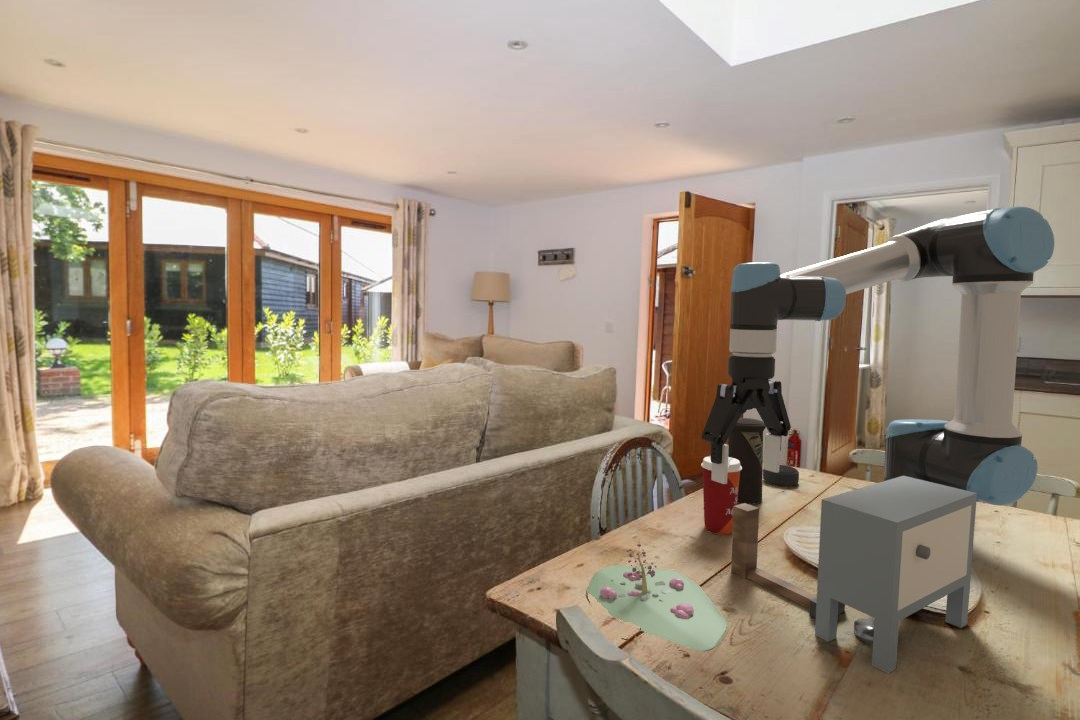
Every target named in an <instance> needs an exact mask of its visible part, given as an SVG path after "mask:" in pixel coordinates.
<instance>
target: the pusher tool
mask: <svg viewBox="0 0 1080 720" xmlns="http://www.w3.org/2000/svg"><path fill="white" fill-rule="evenodd" d="M759 516H760V508H759V507H756V506H755V505H753V504H746V503H743V504H742V503H738V504H737V505H736V506H733V533H731V534H732V539H731V563H730V565H731V567H730V569H731V570H730V572H731V573H733V574H735V575H737V576H739V577H741V578H744V579H749V580H751V581H753V582H755V583H757V584H759V585H761V586H764V587H765V588H766V589H769V590H771V591H773V592H775V593H777V594H779V595H781V596H783V597H785V598H788V599H789V600H792V601H794V602H796V603H798V604H800V605H801V606H803V607H805V608H807V609H809V611H808V612H809V613H808V614H809V615H808V616H809V617H811V618H813V619H815V620H816V603H817V594H814V593H813V592H810V591H808V590H805V589H804V588H801V587H799V586H797V585H795V584H793V583H791V582H788V581H787V580H785V579H783V578H780V577H778V576H776V575H774V574H772V573H769V572H767V571H765V570H763V569H761V568H758V546H759V545H758V544H759V543H758V542H759V523H760V522H759V521H760V517H759ZM845 611H846V605H845V604H843V603H841V602H839V601H838V615H839V614H842V613H843V612H845Z"/></svg>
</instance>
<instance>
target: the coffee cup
mask: <svg viewBox="0 0 1080 720" xmlns="http://www.w3.org/2000/svg"><path fill="white" fill-rule="evenodd" d="M702 459H703V460H702V463H701V464H700V465H701V467H702V491H703V492H702V493H703V519H704V529H705V530H706V531H707V532H709V533H712V534H714V535H731V534H733V506H736V505H738V503H737V499H738V489H739V479H740V471H741V470H742V467H741V466H740V461H739V460H737V459H735V458H731V457H728V474H727V484H722V483H719V482H716V481H713V480H711V476H712V462H711V455H709V456H705V457H704V458H702Z"/></svg>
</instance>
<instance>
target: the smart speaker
mask: <svg viewBox="0 0 1080 720" xmlns="http://www.w3.org/2000/svg"><path fill="white" fill-rule="evenodd" d="M799 478H800V472H799V469H797V468H795V467H793V466H790V465H785V464H779V472H778V473H775V472H772V471H768V470H765V469H763V471H762V480H764V481H763V482H766V483H768V484H770V485H773V486H776V487H777V486H778V487H794V486H796V485H798V484H799V481H800V479H799Z"/></svg>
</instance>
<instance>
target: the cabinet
mask: <svg viewBox="0 0 1080 720" xmlns="http://www.w3.org/2000/svg"><path fill="white" fill-rule="evenodd" d="M976 500H977V493H974V492H970V491H966V490H962V489H957V488H953V487H949V486H945V485H941V484H936V483H932V482H928V481H924V480H920V479H915V478H911V477H907V476H900V477H897V478H894V479H890V480H887V481H884V480H883V481H880V482H877V483H873V484H869V485H865V486H863V487H859V488H856V489H853V490H850V491H846V492H842V493H839V494H836V495H835V494H834V495H832V496H829V497H825V498H821V503H820V504H821V505H820V506H821V508H820V525H819V526H820V527H819V528H820V529H819V544H818V545H819V546H818V547H819V548H818V565H817V566H818V567H817V582H816V585H817V586H816V595H817V603H816V619H815V624H814V625H815V627H814V636H815V637H817V638H820V639H822V640H823V641H825V642H827V643H829V642H831V641H833V640H835V639H837V634H838V617H839V614H838V601H839V602H841V603H843V604H845V606H848V607H850V608H852V609H853V610H855V611H858V612H861V613H863V614H865V615H867V616H869V617H871V618H873V619H874V620H875V621H874V638H873V645H872V657H871V658H872V659H871V666H872V667H874V668H877V669H878V670H880V671H882V672H884V673H886V674H889V673H891V672H893V671H895V670H896V669H897V660H898V659H897V658H898V645H899V642H898V641H899V630H900V629H899V625H900V621H903V620H904V619H906V618H908V617H909V616H911V615H913V614H915V613H917V612H919V611H920V610H922V609H923V608H926V607H927V606H930V605H931V604H933V603H935V602H937V601H939V600H940V599H942V598H944V597H946V606H945V607H946V609H945V620H944V621H945V623H948V624H950V625H952V626H954V627H957V628H959V629H962V628H963V627H965V626H968V617H969V606H970V605H969V603H970V592H971V591H970V590H971V578H972V577H971V576H972V566H973V564H972V563H973V554H974V553H973V551H974V538H975V525H976V524H975V523H976V513H977V512H976V511H977V501H976Z"/></svg>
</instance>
